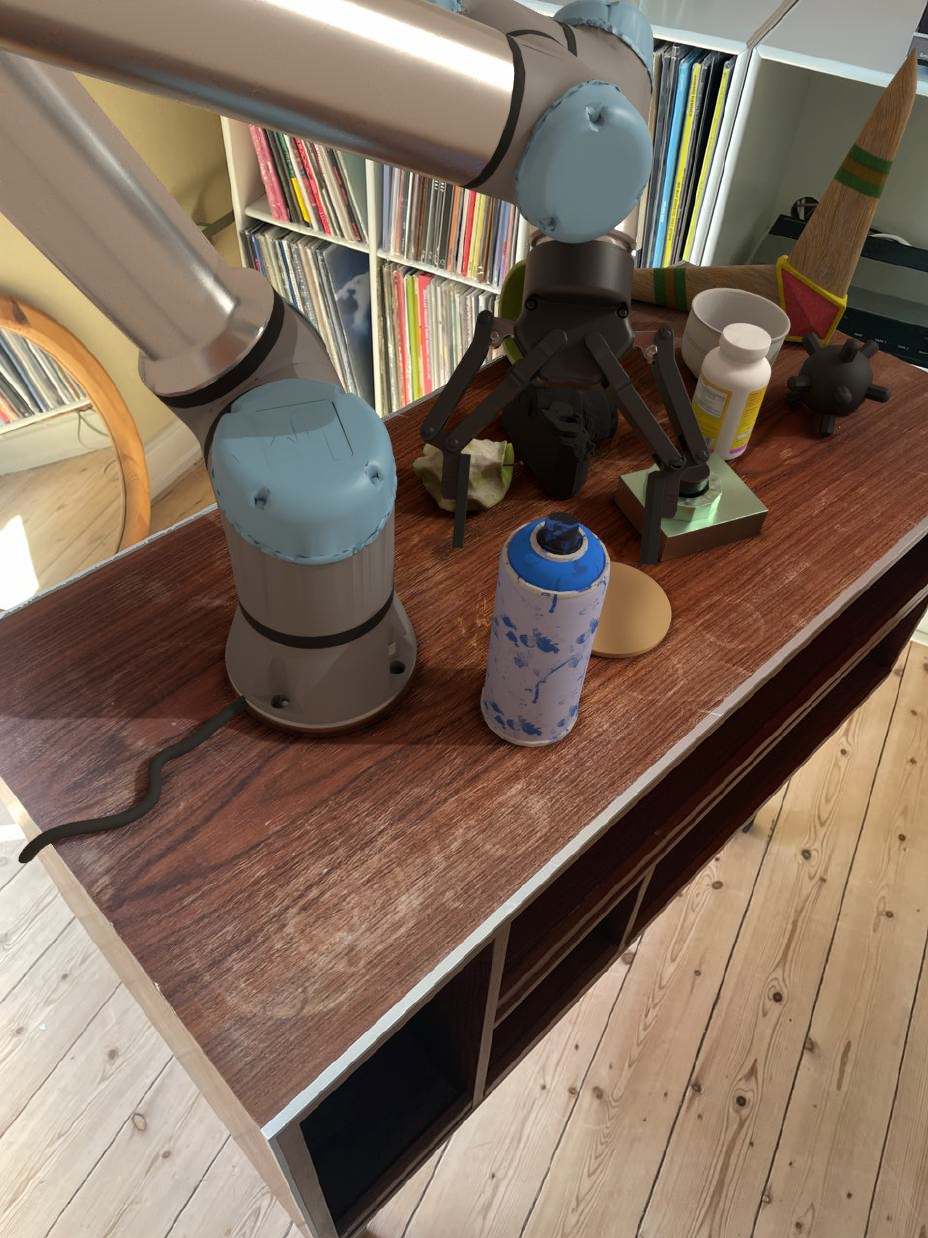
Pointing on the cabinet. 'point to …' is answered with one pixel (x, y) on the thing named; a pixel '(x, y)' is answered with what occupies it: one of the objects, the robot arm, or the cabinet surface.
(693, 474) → the button
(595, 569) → the aerosol can
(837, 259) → the wooden v shape
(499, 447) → the fruit
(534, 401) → the film camera
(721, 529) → the green knob plate
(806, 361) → the toy ball
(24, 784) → the cabinet surface
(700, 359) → the teacup
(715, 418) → the supplement bottle
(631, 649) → the coaster
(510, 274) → the plant pot
